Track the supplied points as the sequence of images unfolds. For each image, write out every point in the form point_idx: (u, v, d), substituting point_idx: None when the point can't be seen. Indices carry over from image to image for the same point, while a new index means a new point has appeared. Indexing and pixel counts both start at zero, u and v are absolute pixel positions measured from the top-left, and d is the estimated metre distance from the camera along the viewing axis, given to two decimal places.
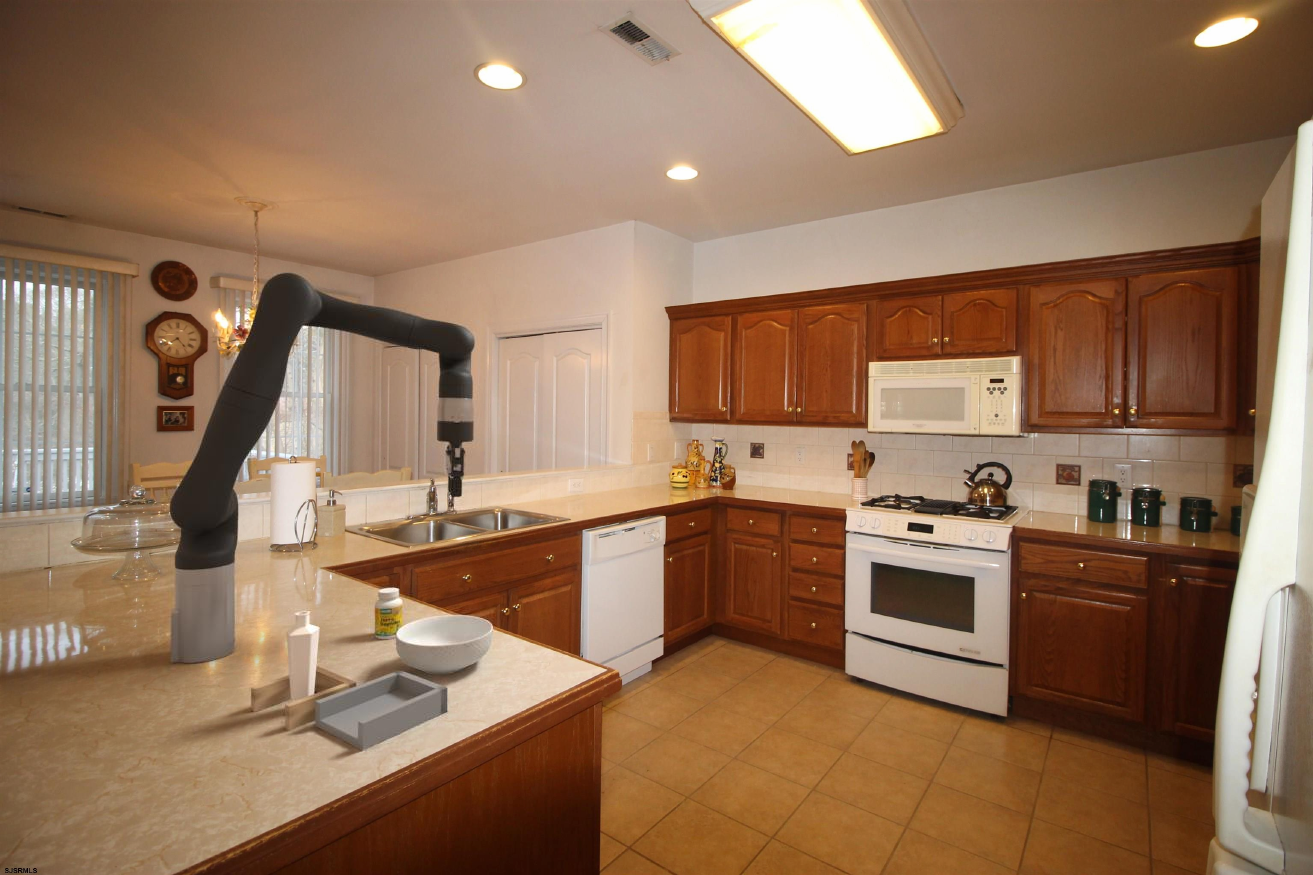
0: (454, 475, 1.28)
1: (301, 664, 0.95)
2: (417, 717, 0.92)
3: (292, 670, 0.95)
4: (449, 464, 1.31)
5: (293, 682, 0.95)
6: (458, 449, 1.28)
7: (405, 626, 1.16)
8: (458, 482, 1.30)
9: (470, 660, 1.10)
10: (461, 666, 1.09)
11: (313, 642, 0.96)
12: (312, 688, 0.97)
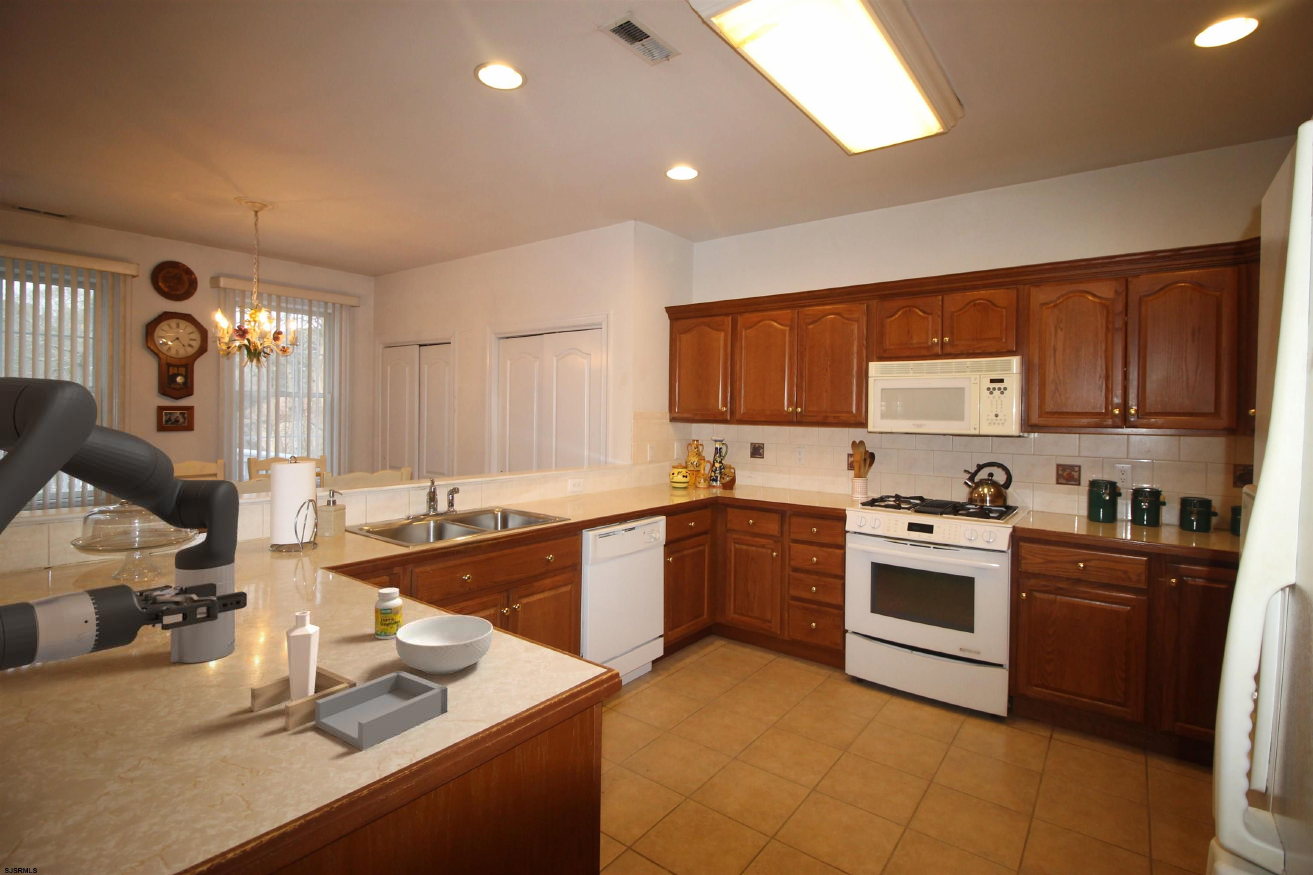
0: None
1: (301, 664, 0.95)
2: (417, 717, 0.92)
3: (292, 670, 0.95)
4: None
5: (293, 682, 0.95)
6: None
7: (405, 626, 1.16)
8: None
9: (470, 660, 1.10)
10: (461, 666, 1.10)
11: (313, 642, 0.96)
12: (312, 688, 0.97)
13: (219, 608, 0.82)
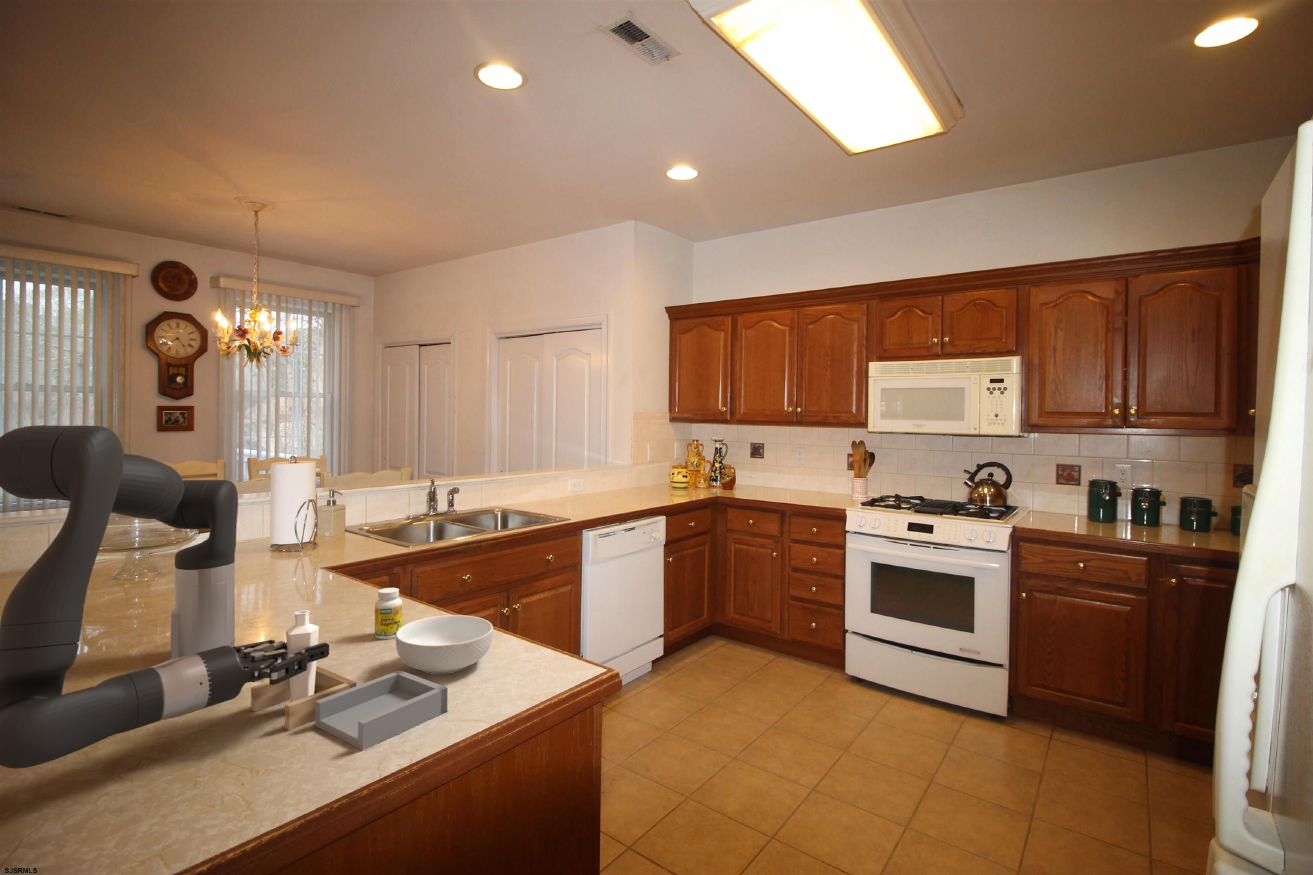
0: None
1: None
2: (417, 717, 0.92)
3: None
4: None
5: (293, 681, 0.95)
6: None
7: (405, 626, 1.16)
8: None
9: (470, 660, 1.10)
10: (461, 666, 1.10)
11: (312, 641, 0.97)
12: (312, 687, 0.97)
13: (307, 659, 0.94)
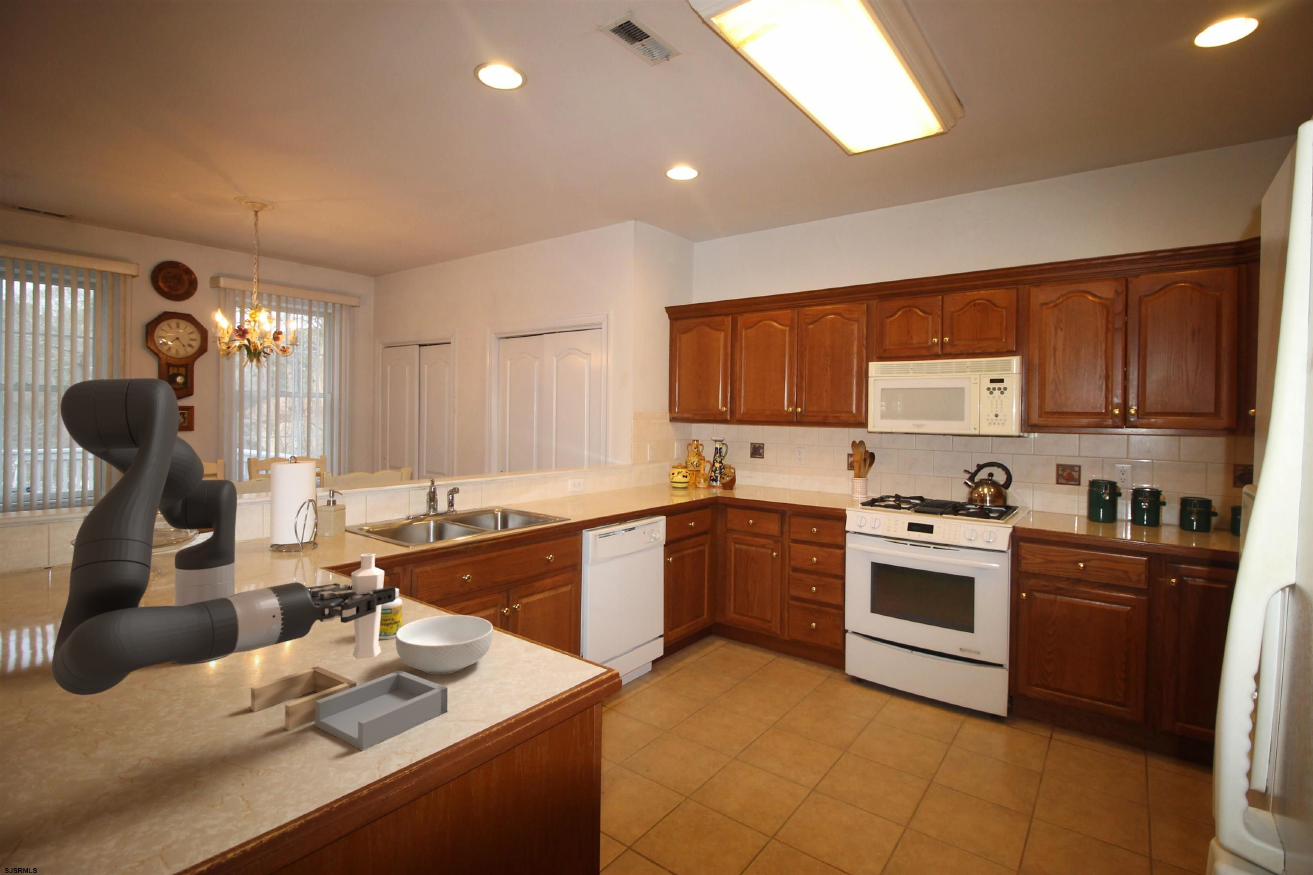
0: None
1: None
2: (417, 717, 0.92)
3: None
4: None
5: (359, 625, 0.92)
6: None
7: (405, 626, 1.16)
8: None
9: (470, 660, 1.10)
10: (461, 666, 1.10)
11: (378, 584, 0.93)
12: (377, 633, 0.94)
13: (375, 601, 0.91)
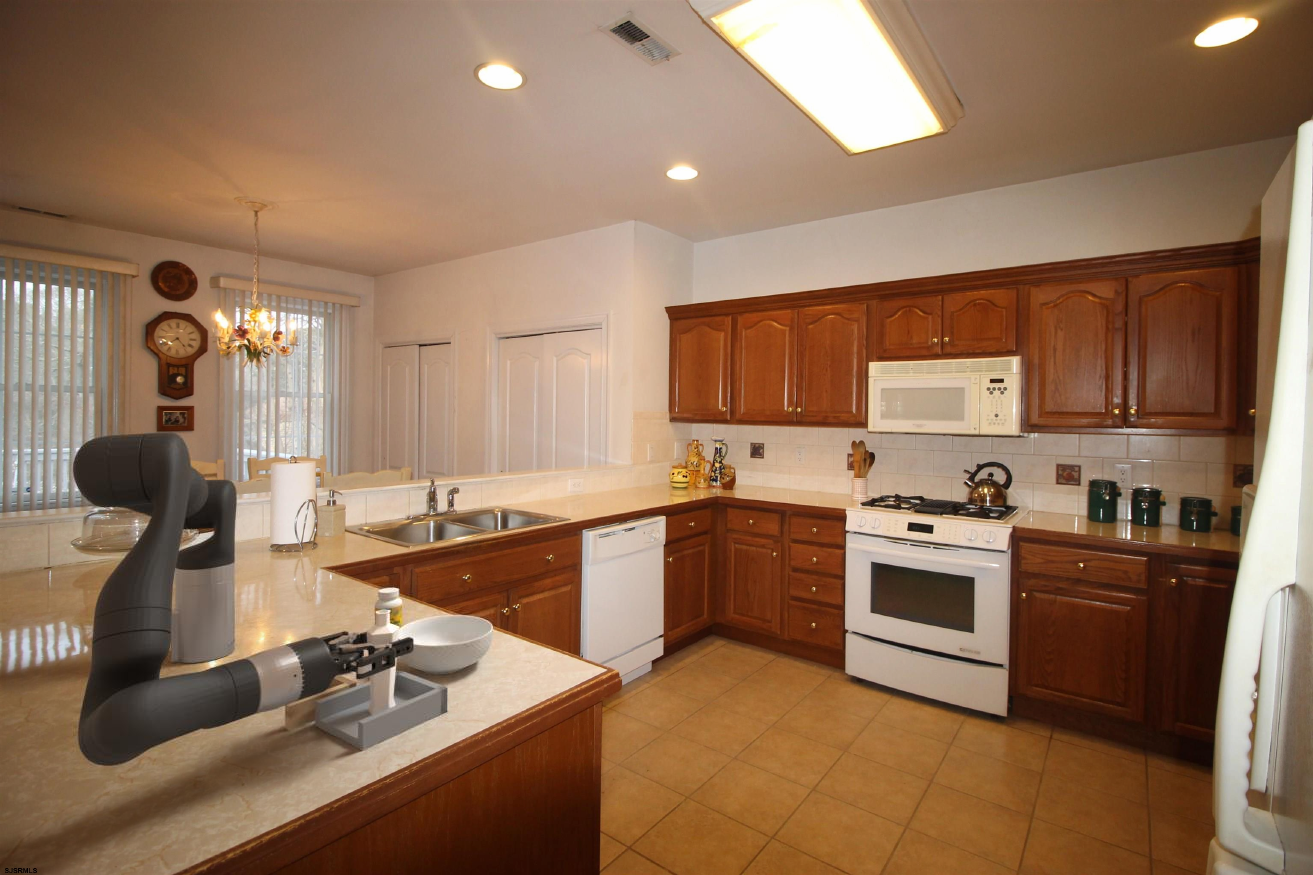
0: None
1: None
2: (417, 717, 0.92)
3: None
4: None
5: (374, 683, 0.93)
6: None
7: (405, 626, 1.16)
8: None
9: (470, 660, 1.10)
10: (461, 666, 1.10)
11: (393, 641, 0.94)
12: (392, 689, 0.95)
13: None
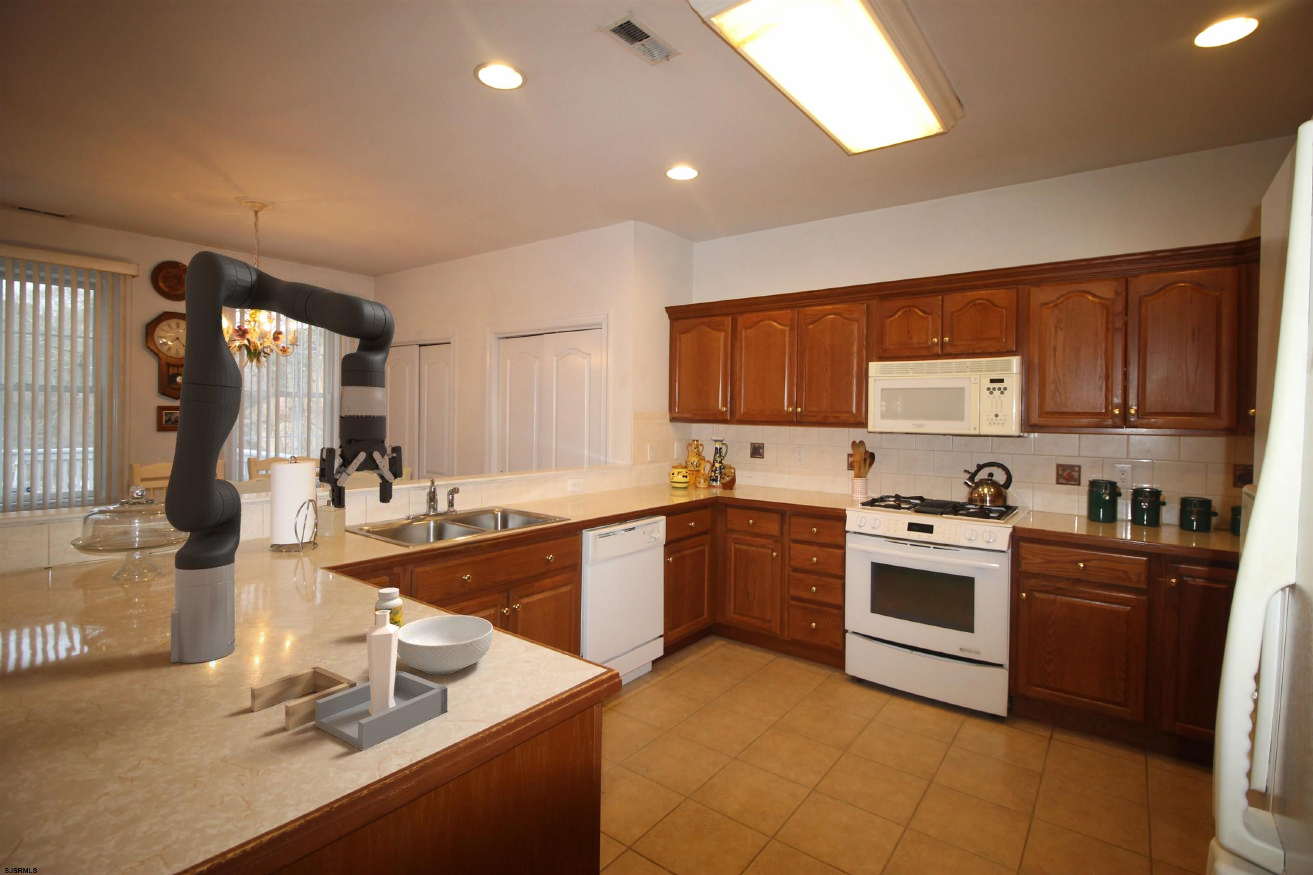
0: (321, 481, 1.04)
1: (382, 665, 0.93)
2: (417, 717, 0.92)
3: (373, 671, 0.92)
4: (338, 467, 1.07)
5: (374, 683, 0.93)
6: (325, 449, 1.04)
7: (405, 626, 1.16)
8: (334, 490, 1.05)
9: (470, 660, 1.10)
10: (461, 666, 1.10)
11: (393, 642, 0.94)
12: (392, 689, 0.95)
13: None
